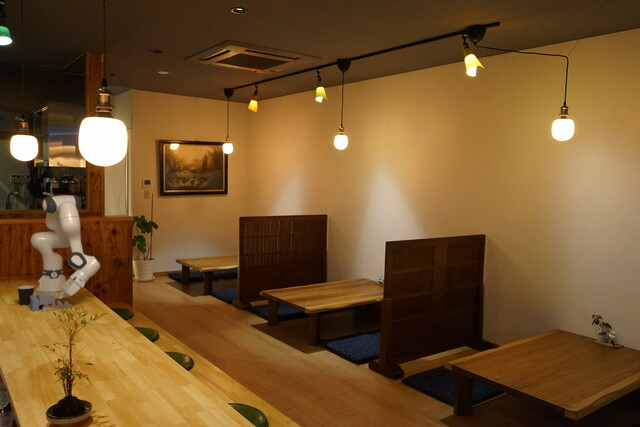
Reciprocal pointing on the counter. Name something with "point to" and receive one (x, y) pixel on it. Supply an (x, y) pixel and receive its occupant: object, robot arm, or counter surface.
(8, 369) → the counter surface
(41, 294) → the slab
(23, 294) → the coffee mug
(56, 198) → the robot arm
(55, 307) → the roller bed
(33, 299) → the stop block
